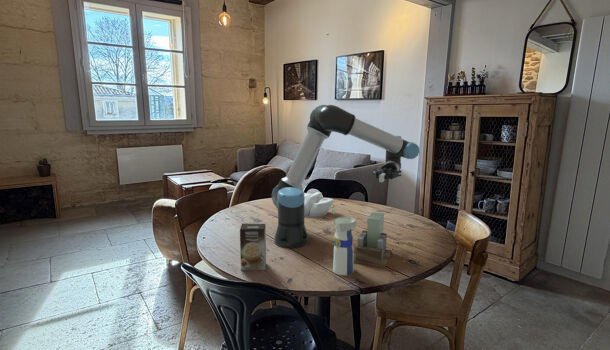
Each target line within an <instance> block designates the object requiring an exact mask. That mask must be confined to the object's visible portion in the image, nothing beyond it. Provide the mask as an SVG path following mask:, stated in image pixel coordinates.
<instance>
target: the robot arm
mask: <svg viewBox="0 0 610 350" xmlns="http://www.w3.org/2000/svg"><path fill="white" fill-rule="evenodd" d="M306 129H307V133H306V135H305V136H304V139H303V141H302V143H301V144H300V147H299V149H298V151H297V154H296V156H295V157H294V159H293V161H292V163H291V165H290V168H289V169H288V172H287V173H286V176H285V177H281V179H280V180H279V182H278V184H277V185H276V186H275V187H274V188H273V189H272V193H271V200H272V203H273V205H274V206H275V208H276V209H277V222H278V224H277V227H276V231H275V234H274V244H276V245H278V246H279V247H282V248H300V247H303V246H305V245H307V244H308V242H309V234H308V232H307V231H308V230H307V229H306V225H305V216H304V201H305V197H304V193H305V192H304V191H303V190H304V189H303V184H304V182H305V179H306V177H307V175H308V173H309V171H310V169H311V167H312V165H313V163H314V161H315V159H316V157H317V155H318V153H319V151H320V149H321V147H322V144H323V143H324V141H325V140H327V139H329V137H330V136H331V134H332V132H334V133H337V134H341V135H344V136H347V135H349V136H352V137H354V138H357V139H359V140H362V141H363V142H366V143H369V144H371V145H373V146H376V147H377V148H381V149H382V150H385V162H384V164H383V165H382V166H381V168H379V169H377V168H374V169H373V175H374V176H375V178H376V179H378V180H379V182H378V183H384V181H386V180H389V179H390V180H394V179H396V178H399V177H402V170H401V169H402V158H403V159H404V158H405V159H407V160H414V159H416V158H417V157H418V156H419V154H420V147H419V145H418V144H417V143H415V142H413V141H408V140H406V139H404V138H402V136H401V135H394V134H392V133H390V132H387V131H385V130H384V129H381V128H378V127H376V126H374V125H372V124H369V123H367V122H365V121H363V120H360V119H359V118H357V117H356V115H355V114H353V113H351V112H349V111H347V110H345V109H343V108H341V107H339V106H338V105H333V104H322V105H318V106H316V107H315V108H313V110H312V111H311V112H310V115H309V121H308V124H307V125H306Z"/></svg>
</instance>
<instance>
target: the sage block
mask: <svg viewBox="0 0 610 350" xmlns="http://www.w3.org/2000/svg"><path fill="white" fill-rule="evenodd" d="M384 222H385V213H383V212H377V211H376V212H375V211H374V212H373V211H372V212H371V213H370V214H369V215H368V217H367V222H366V223H367V224H366V227H367V228H366V231H367V247H370V248H376V249H377V241H378V239H379V237H380V235H381V233H384V226H385V225H384V224H385V223H384Z"/></svg>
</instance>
